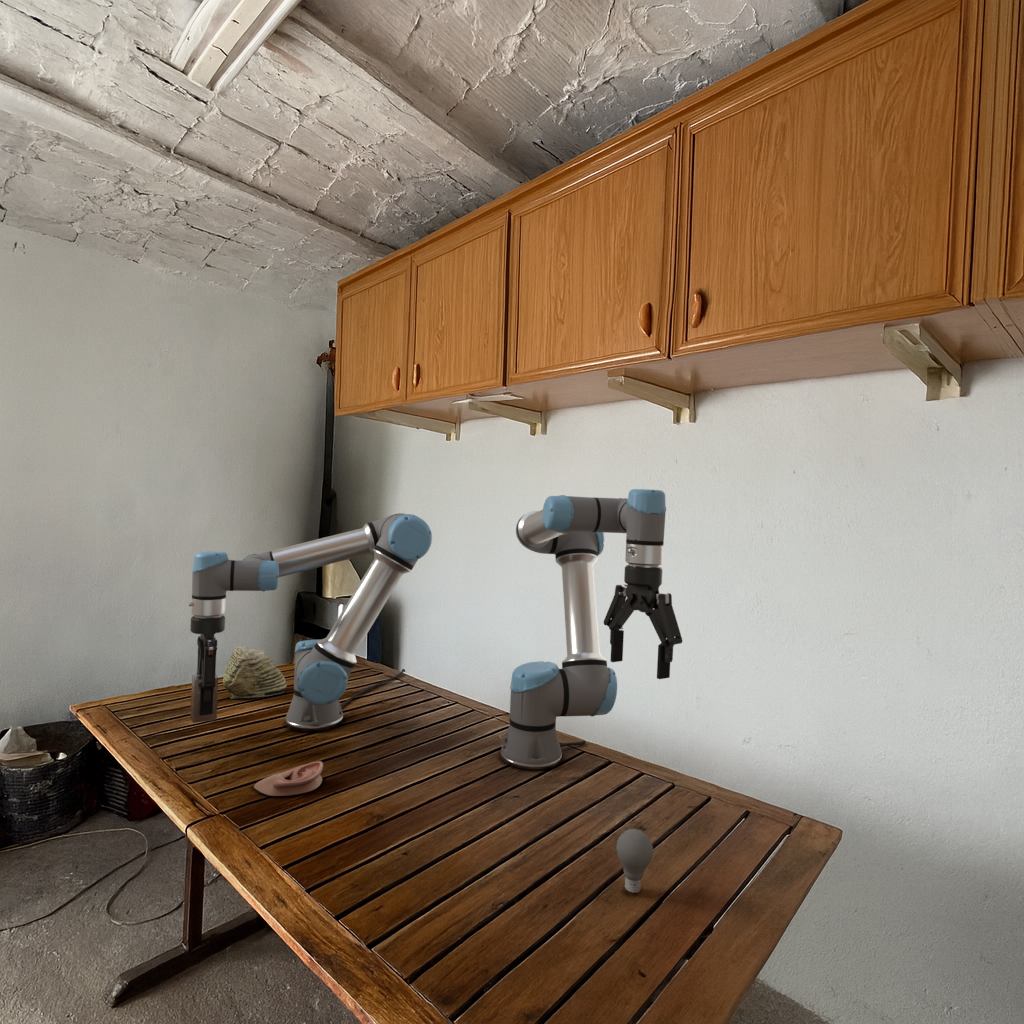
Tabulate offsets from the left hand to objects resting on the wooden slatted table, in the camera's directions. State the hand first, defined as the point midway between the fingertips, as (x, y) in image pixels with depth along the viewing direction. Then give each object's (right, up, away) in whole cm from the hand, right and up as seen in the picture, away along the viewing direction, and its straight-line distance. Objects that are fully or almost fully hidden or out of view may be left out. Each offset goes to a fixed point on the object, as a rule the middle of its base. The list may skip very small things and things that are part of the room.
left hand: (204, 710), depth 154 cm
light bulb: (+95, -15, -48) cm, 107 cm away
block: (0, -2, 0) cm, 2 cm away
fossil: (-6, -9, +44) cm, 45 cm away
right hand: (+101, +16, -25) cm, 105 cm away
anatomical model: (+26, -11, -16) cm, 33 cm away
